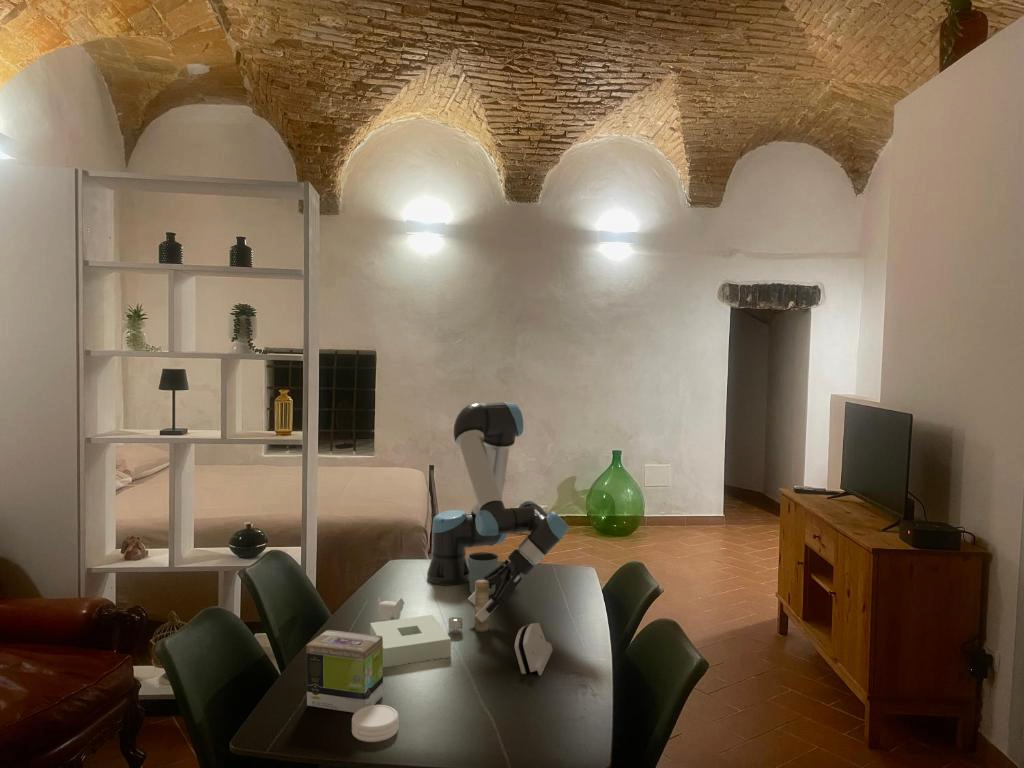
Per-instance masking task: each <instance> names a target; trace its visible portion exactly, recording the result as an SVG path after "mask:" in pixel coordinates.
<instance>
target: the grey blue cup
mask: <svg viewBox="0 0 1024 768" xmlns="http://www.w3.org/2000/svg"><path fill="white" fill-rule="evenodd" d="M467 563H468V566H469V581H468V583H469V585H468V586H469V593H470V595H472V594H473V593H474V592H475V582H476V581H477V580H485V579H484V577H485V576H486V575H488V574H489V573H490V572H492V571H493V570H495V569H496V568H497V567H498V563H499V555H498V554H496V553H494V552H489V551H487V552H485V551H483V552H482V551H481V552H480V551H479V552H473V553H470V554H468V556H467ZM496 585H497V584H495V585H493V586H492V588H491V589H490V588H489V589H490V590H489V596H491V595H493V594H495V593H496Z"/></svg>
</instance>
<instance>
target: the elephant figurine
mask: <svg viewBox="0 0 1024 768" xmlns="http://www.w3.org/2000/svg"><path fill="white" fill-rule="evenodd" d="M377 603H378V604H377V605H378V606H377V608H378V609H377V619H376V620H377V621H378V620H379V622H382V621H389V620H397V619H401V613H402V611H403V610H404V609H403V608H404V605H405V602H404V600H403V598H399V600H398V601H392V600H384V601H382V597H381V595H379V596H378V599H377Z"/></svg>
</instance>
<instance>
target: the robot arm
mask: <svg viewBox="0 0 1024 768" xmlns="http://www.w3.org/2000/svg"><path fill="white" fill-rule="evenodd" d="M524 428H525V426H524V417H523V414H522V411H521V409H520V407H519V406H518V405H517V404H516V403H514V402H506V401H502V402H482V403H480V402H475V403H474V402H473V403H470V404H468V405H466V406H465V407H464V408H463V409H461V410H460V412H459V413H458V415H457V416H456V419H455V422H454V425H453V438H454V441H455V445H456V446H457V447H458V448H459V449H461V450H460V451H461V454H462V457H463V460H464V463H465V466H466V469H467V473H468V477H469V480H470V483H471V485H472V490H473V492H474V495H475V499H476V503H475V504H473V505H472V507H471V512H470V513H466V511H464V510H462V509H461V510H460V509H456V510H455V509H452V510H451V509H450V510H445V511H442V512H439V513H437V514H436V515H435V516H434V517H433V519H432V527H431V531H432V532H431V533H432V537H431V539H432V541H431V542H432V545H431V546H432V554H431V555H432V557H431V560H430V563H429V567H428V569H427V573H426V574H427V575H426V578H427V579H426V580H427V581H428V582H429V583H431V584H434V585H437V586H438V585H440V586H456V585H457V586H458V585H461V584H462V585H463V584H465V583H467V582H469V581H470V580H469V564H468V559H467V558H466V557H467V556H466V549H469V548H477V547H485V546H494V545H500V544H502V543H503V542H504V541H505V540H506V538H507V537H508V535H509V534H516V533H517V534H519V533H527V532H529V533H530V534H528V536H526V538H525V539H523V540H522V541H521V542H520V543H519V545H517V549H514V550H513V551H512V552H511V553H509V554H510V555H508V556H507V558H508V559H506V560H505V561H504V562H503V563H501V564H500V565H499V566H497V568H496V569H495V570H493V571H492V572H490V573H489V574H488V575H486V576H485V577H484V579H485V580H487V581H489V588H490V589H491V588H492V586H493V585H495V584H496V585H497V584H499V583H500V585H499V587H498V589H497V590H496V591H495V593H494V594H495V595H494V596H491V597H490V598H489V601H488V602H487V603H486V605H485V606H484V607H483V608H482V609H481V610H480V611H479V612H478V613H477V614H476V615H475V614H474V617H475V616H476V617H477V618H478V619H479V620H480V621H481V622H483V621H484V620H485V619H486V618H487V617H488V616H489V617H490V615H491V614H492V613H493V612H494V611H495V610H496V609H497V607H500V606H501V607H503V606H505V604H506V603H507V601H508V599H510V597H511V595H512V594H513V592H514V590H515V589H516V587H518V584H520V583H521V581H522V579H523V578H522V577H521V576H520V575H521V574H523V575H524V576H527V575H528V574H529V573H530V572H532V570H533V569H534V565H538V563H539V562H540V561H543V560H544V557H545V556H546V555H547V554H548V553H549V552H550V551H551V550H552V549H553V548H554V547H555V546H556V545H557V544H558V543H559V541H561V540H562V539H563V538H564V536H565V535H566V534H567V533H568V532H569V530H570V526H569V524H568V523H566V521H565V520H564V519H563V518H561V516H559V515H558V513H557V512H555V511H551V512H549V513H547V512H546V511H545V510H544V508H542V507H541V505H539V504H537V503H536V502H535V501H532V500H527V501H524V502H522V503H521V504H519V505H518V507H511V508H510V507H509V508H506V507H505V505H504V502H503V494H504V486H505V479H506V473H507V467H508V466H507V465H508V459H509V452H510V448H511V447H512V446H513V445H514V444H515V442H516V441H515V440H516V438H517V437H520V436H522V434H523V432H524ZM496 585H495V586H496ZM490 589H489V590H490ZM467 599H468V601H470V603H471V604H473V605H474V606H475V592H474V593H473V594H470V596H469V597H468V598H467Z"/></svg>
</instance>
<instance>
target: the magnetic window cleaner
mask: <svg viewBox="0 0 1024 768" xmlns="http://www.w3.org/2000/svg"><path fill="white" fill-rule="evenodd" d="M553 650H554V649H553V646H552V644H551V642H549V641H547V640H546V637H545V634H544V632H543V629H542V627H541V624H540V623H539V622H533V623H528V624H526V625H524V626H521V628H520V629H519V630H518V632H517V633H516V637H515V641H514V651H515V654H516V657H517V662H518V664H519V665H518V666H519V669H520V673H521V674H522V675H524V674H527V672H530V673H533V672H537V675H538V676H542V675H543V672H544V670H545V667H546V665H547V663H548V661H549V659H550V657H551V655H552V653H553Z"/></svg>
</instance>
